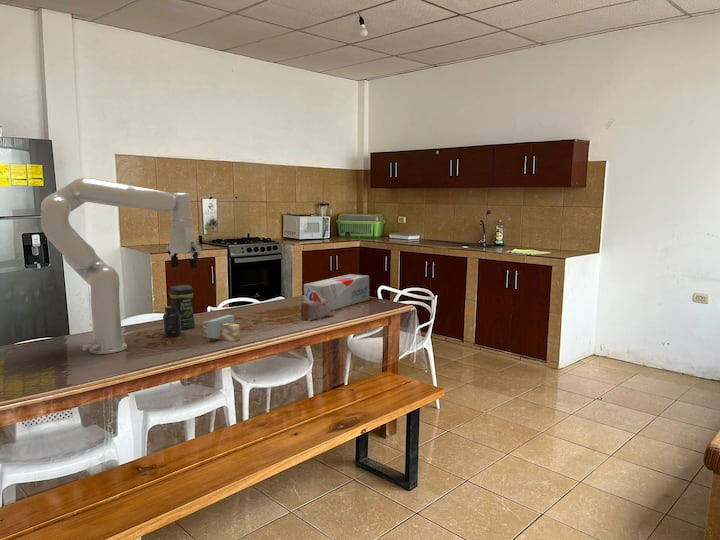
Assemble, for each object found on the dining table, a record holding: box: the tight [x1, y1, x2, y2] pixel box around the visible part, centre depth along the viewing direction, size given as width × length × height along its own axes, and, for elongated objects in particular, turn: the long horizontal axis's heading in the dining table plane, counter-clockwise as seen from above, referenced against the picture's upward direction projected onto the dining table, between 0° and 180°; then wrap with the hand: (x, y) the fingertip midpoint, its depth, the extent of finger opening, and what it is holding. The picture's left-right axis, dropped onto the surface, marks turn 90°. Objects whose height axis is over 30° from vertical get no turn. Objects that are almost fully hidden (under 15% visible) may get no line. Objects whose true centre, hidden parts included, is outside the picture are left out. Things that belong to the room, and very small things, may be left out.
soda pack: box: [303, 273, 370, 312], centre depth 285 cm, size 41×13×14 cm, turn 144°
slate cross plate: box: [206, 314, 235, 339], centre depth 219 cm, size 13×3×6 cm, turn 154°
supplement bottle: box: [162, 305, 182, 338], centre depth 224 cm, size 7×7×12 cm
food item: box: [300, 297, 331, 322], centre depth 255 cm, size 14×8×10 cm, turn 141°
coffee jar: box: [169, 284, 195, 330], centre depth 237 cm, size 10×8×19 cm
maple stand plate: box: [202, 320, 241, 342], centre depth 219 cm, size 16×3×6 cm, turn 64°
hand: (184, 267), depth 217 cm, fingers open, 9 cm apart
